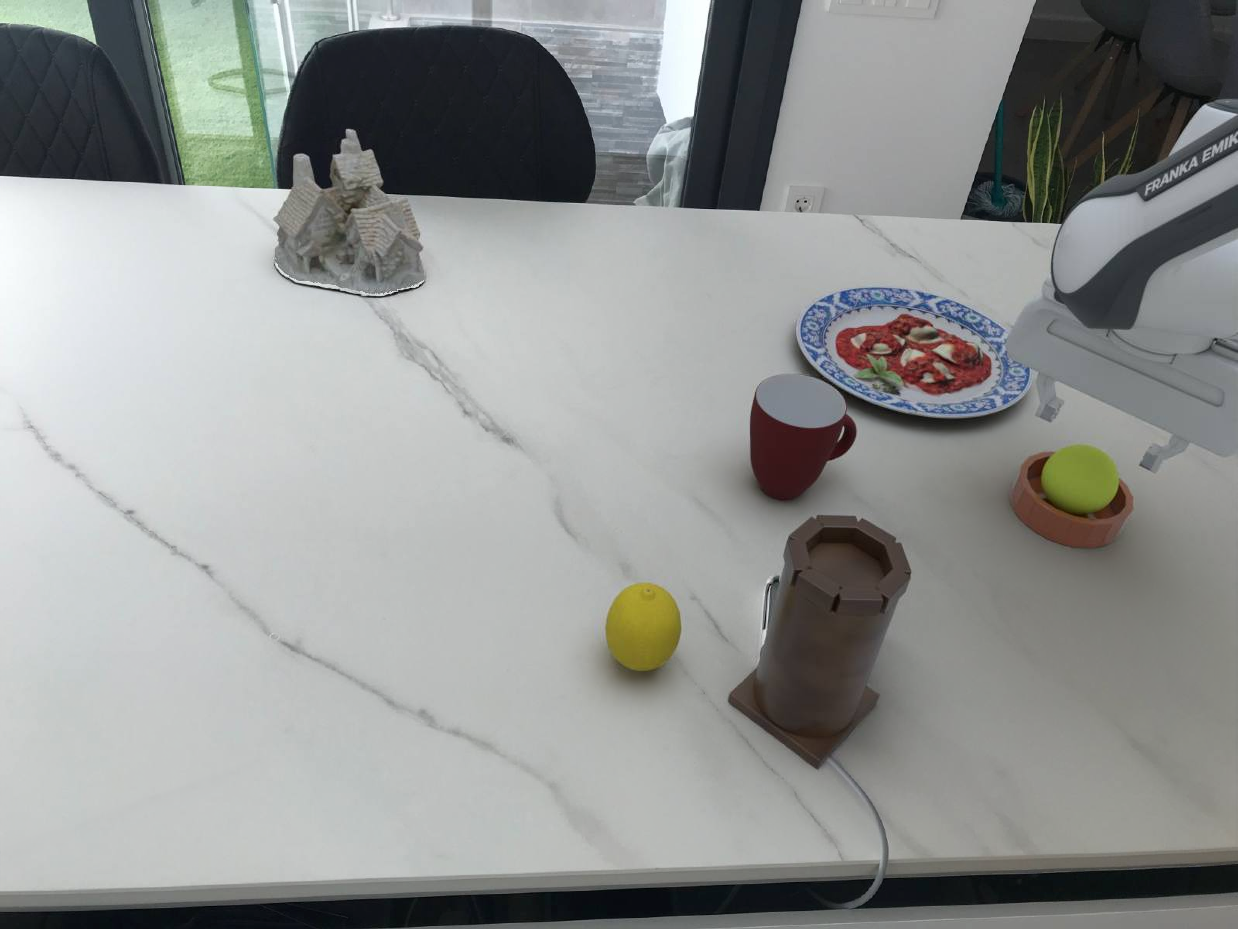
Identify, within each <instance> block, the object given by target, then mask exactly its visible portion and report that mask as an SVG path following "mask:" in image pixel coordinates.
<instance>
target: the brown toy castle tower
mask: <svg viewBox="0 0 1238 929" xmlns="http://www.w3.org/2000/svg"><path fill="white" fill-rule="evenodd" d="M784 546H785V547H784V550H783V554H782V557H783V562H784V564H783V567H782V571H781V576H780V579H779V583H778V588H777V592H776V595H775V598H774V603H773V606H772V610H771V615H770V618H769V622H768V626H767V629H766V634H765V638H764V641H763V644H762V649H761V654H760V657H759V661H758V665H757V667H755V669H753V671H752V672H751V673H749V674H748V675H747V676H746V677H745V678H744V679H743V680H742V681H741V682H740V683H739V684H738V685H737V686H736V687H735V688H734V689H732V691H730V692H729V695H728V698H727V702H728V703H729V704H730V705H732V706H733V707H735V708H736V709H737V710H738V711H739V712H741V713H742V714H743V715H745V716H746V717H747V718H749V719H750V720H752V721H753V722H754V723H756V724H757V725H758V726H760V727H761V728H762V729H763V730H765V731H766V732H767V733H768V734H770V735H772V736H773V737H774V738H775V739H777V740H778V741H779V742H781V743H782V744H783V745H785V746H786V747H787V748H789V749H790V750H791V751H793V752H794V753H795V754H796V755H798V756H799V757H801V759H803V760H805V761H806V762H807V763H809V765H811V766H812V767H813V768H815V769H817V770H818V769H819V768H820V767H821V766H822V765H823V764H824V763H825V761H826V760H827V759H828V758H829V757H830V756H831V755H832V754H833V753H834V751H835V750H836V749H837V748H838V747H839V746H840V745H841V744H842V742H844V740H846V738H847V737H848V736H849V735H850V734H851V732H853V730H854V729H856V727H858V725H859V724H860V723H861V722H862V720H863V719H864V718H865V717H866V716H867V715H868V714H869V712H870V711H871V710H873V709H874V707H875V706H876V705H877V704H878V701H879V699H880V696H881V695H880V694H879V693H878V692H876V691H875V690H873V689H872V688H870V687H869V686H868V683H869V680H870V678H871V675H872V672H873V669H874V667H875V664H876V662H877V659H878V656H879V653H880V651H881V648H882V646H883V642H884V640H885V637H886V635H887V633H888V629H889V627H890V625H891V622H892V619H893V616H894V614H895V610H897V609H896V608H897V606H898V603H899V601H900V599H901V597H903V596H904V595H905V594H906V592H907V589H908V586H909V584H910V581H911V579H912V576H911V575H912V572H913V571H912V569H911V566H910V563H909V560H908V558H907V555H906V552H905V549H904V547H903V544H902V542H900V541H899V542H897V537H896V536H895V535H892V534H891V533H889V532H887V531H885V530H884V529H882V528H881V527H879V526H878V525H875V524H874V523H872V522H871V521H869V520H867V519H865V518H864V517H861V518H860V519H859V520H858V518H857V516H856V515H839V514H833V515H832V514H816V517H813V516H810V517H809V518H808V519H807V520H806V521H804V522H803V523H802V524H800V526H798V527H797V528H795V530H794V531H792V532H791V533H789V535H788V536H787V540H786V543H785V545H784ZM828 756H829V757H828ZM827 757H828V758H827Z"/></svg>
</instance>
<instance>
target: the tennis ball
mask: <svg viewBox="0 0 1238 929" xmlns="http://www.w3.org/2000/svg"><path fill="white" fill-rule="evenodd" d="M1054 452H1055V453H1054V454H1053V455H1052V456H1051V457H1050V458H1049V459H1048V461H1047V462H1046V464H1045V466H1044V468H1043V471H1042V476H1041V484H1042V488H1043V491H1044V494H1045V496H1046V497H1047V499H1048V500H1049V501H1050V502H1051V503H1052V504H1053V505H1054V506H1055V507H1056V508H1058V509H1060V510H1061V511H1063V512H1066V513H1069V514H1074V515H1086V514H1091V513H1094V512H1097V511H1099V510H1101V509H1103V508H1104V507H1105V506H1107V505H1108V504H1109V503H1110V502H1111V501H1112V499H1113V498H1114V496H1115V495H1116V492H1117V489H1118V485H1119V478H1120V476H1119V471H1118V468H1117V465H1116V464H1115V462H1114V460H1113V459H1112V458H1111V456H1109V455H1108V454H1107V453H1106V452H1104V451H1103V450H1101V449H1100V448H1097V447H1095V446H1093V445H1087V444H1072V445H1067V446H1065V447H1062V448H1060V449H1058V450H1057V451H1054Z"/></svg>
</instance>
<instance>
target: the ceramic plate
mask: <svg viewBox="0 0 1238 929" xmlns="http://www.w3.org/2000/svg"><path fill="white" fill-rule="evenodd" d="M795 329H796V330H795V334H796V341H797V344H798V347H799V348H800V351H801V353H802V354H803V356H804V357H805V359H806V360H807V361H808V362H809V364H810V365H811V366H812V367H813V368H814V369H815V370H816V371H817V372H818V373H819V374H820V375H822V377H824V378H825V379H827V380H828V381H829V382H830V383H832V384H834V385H836V387H839V388H840V389H842V390H843V391H845V392H847V393H849V394H851V395H853V396H854V397H857V398H860V399H861V400H863V401H866V402H868V403H870V404H873V405H877V406H880V407H883V408H886V409H889V410H892V411H895V412H899V413H903V414H909V415H913V416H921V417H926V418H934V419H969V418H977V417H985V416H987V415H991V414H996V413H998V412H1001V411H1004V410H1006V409H1009V408H1010V407H1012V406H1013V405H1015V404H1016V403H1018V402H1019V401H1020V400H1021V399H1022V398H1023V397H1025V396H1026V394H1027V393H1028V392H1029V389H1030V387H1031V386H1032V383H1033V379H1034V370H1033V369H1030V368H1028V367H1026V366H1024V365H1022V364H1020V363H1017V362H1015V361H1013V360H1011V359H1010V358H1009V356H1008V354H1007V351H1006V347H1005V344H1006V341H1007V338H1008V336H1009V334H1010V332H1011V330H1008V329H1007V328H1006V327H1004V326H1003V325H1002V324H1000V322H998V321H996V319H993V318H992V317H991V316H988V315H987V314H985V313H984V312H982V311H980V310H977V309H976V308H974V307H971V306H970V305H967V304H965V303H963V302H960V301H957V300H955V299H953V298H949V297H947V296H943V295H939V294H936V293H932V292H929V291H925V290H921V289H916V288H915V289H914V288H908V287H901V286H891V285H863V286H854V287H853V286H852V287H846V288H842V289H841V288H840V289H838V290H834V291H830V292H829V293H825V294H823V295H821V296H819V297H817V298H815V299H814V300H812V301H811V302H810V303H808V304H807V305H806V306H805V307H804V309H803V310H802V311H801V312H800V314H799V315H798V318H797V320H796V326H795Z"/></svg>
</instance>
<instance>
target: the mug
mask: <svg viewBox="0 0 1238 929" xmlns="http://www.w3.org/2000/svg"><path fill="white" fill-rule="evenodd" d="M847 411H848V405H847V401H846V399H845V398H844V396H843V395H842V393H841V392H840V391H839V390H838V389H837V388H836V387H834V386H833V385H831V384H830V383H828V382H827V381H824V380H822V379H819V378H817V377H814V376H810V375H805V374H801V373H799V374H798V373H781V374H776V375H772V376H770V377H767V378H766V379H763V380H762V381H761V382H760V383H759V384H758V385H757V386H756V389H755V392H754V395H753V399H752V404H751V408H750V416H749V448H750V449H749V456H750V459H749V460H750V466H751V469H752V472H753V474H754V477H755V480H756V482H757V483H758V486H759V488H760V489H761V491H762V492H763V493H764V494H765V495H767V496H769V497H771V498H773V499H776V500H779V501H780V500H781V501H788V500H794V499H797V498H798V497H799V496H801V495H802V494H803V493H804V492H806V491H807V490H808V489H810V488H811V486H812V485H814V484H815V483H816V481H817V480H818V479H819V478H820V476H821V474H822V472H823V471H824V469H825V467H826V465H827V463H828V462H830V461H834V460H836V459H839V458H841V457H842V456H844V455H845V454H846V453H847V452H848V451H849V450H851V448H852V446H853V445H854V443H855V441H856V438H857V434H858V428H857V425H856V423H855V421H854V419H853V418H852V417H851V416H850V415H849V414H847ZM842 431H843V432H842ZM841 434H842V435H841Z"/></svg>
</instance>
